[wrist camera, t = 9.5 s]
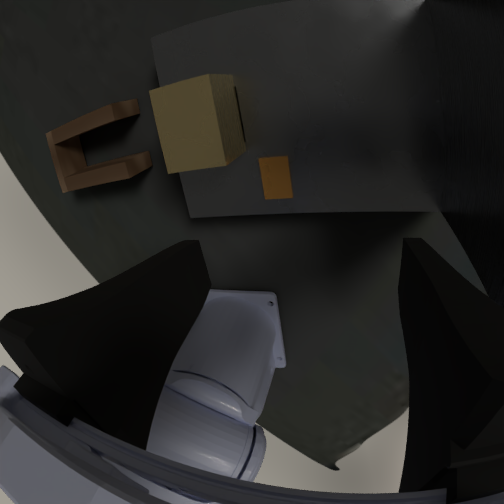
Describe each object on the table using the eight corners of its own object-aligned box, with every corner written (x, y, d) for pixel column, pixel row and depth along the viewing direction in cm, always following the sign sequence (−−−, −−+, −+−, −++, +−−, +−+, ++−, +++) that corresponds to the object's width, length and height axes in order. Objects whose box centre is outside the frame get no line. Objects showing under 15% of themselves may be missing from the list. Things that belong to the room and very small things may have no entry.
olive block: (258, 141, 19) (226, 165, 14) (213, 147, 20) (168, 173, 15) (247, 75, 17) (208, 73, 12) (200, 85, 18) (149, 90, 13)
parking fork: (152, 165, 22) (129, 178, 19) (85, 180, 24) (62, 192, 22) (136, 98, 19) (110, 103, 17) (70, 125, 22) (45, 133, 19)
